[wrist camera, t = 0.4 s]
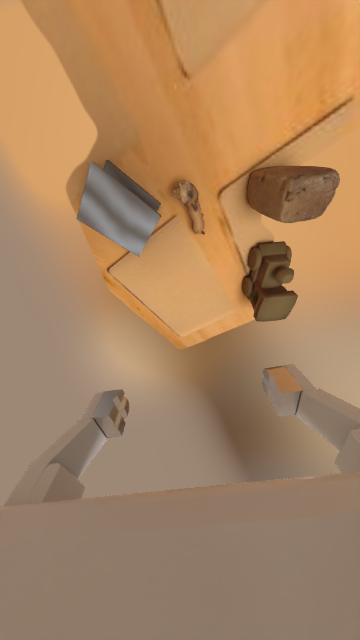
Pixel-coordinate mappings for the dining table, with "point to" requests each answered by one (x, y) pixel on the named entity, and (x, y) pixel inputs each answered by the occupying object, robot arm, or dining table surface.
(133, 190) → the stand
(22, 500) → the robot arm
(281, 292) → the wooden toy train
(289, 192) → the block
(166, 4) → the dining table surface
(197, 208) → the lion figurine
